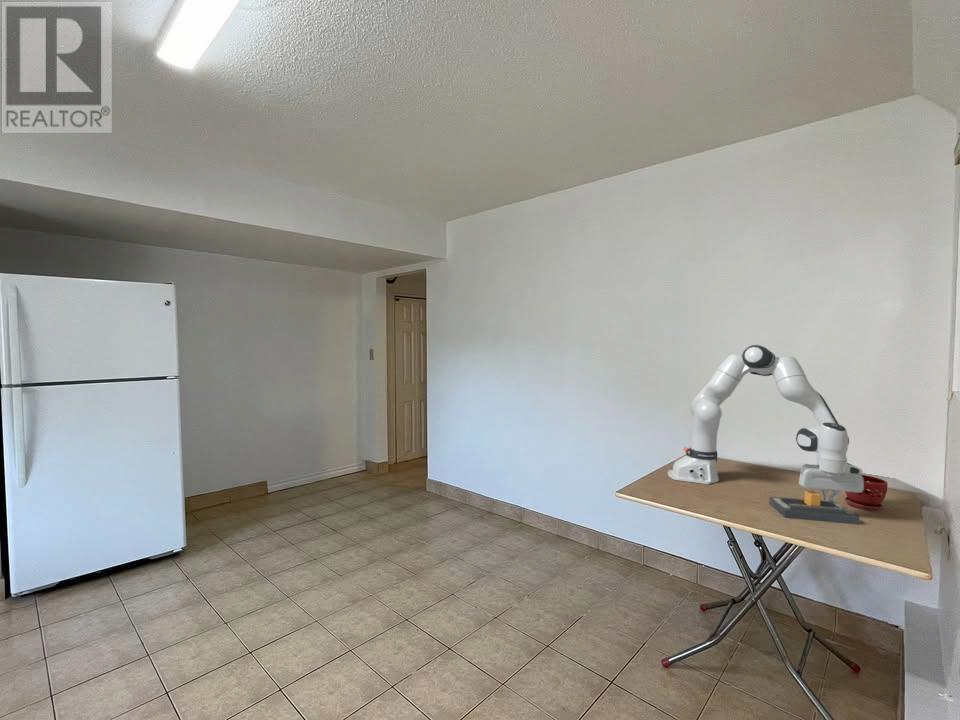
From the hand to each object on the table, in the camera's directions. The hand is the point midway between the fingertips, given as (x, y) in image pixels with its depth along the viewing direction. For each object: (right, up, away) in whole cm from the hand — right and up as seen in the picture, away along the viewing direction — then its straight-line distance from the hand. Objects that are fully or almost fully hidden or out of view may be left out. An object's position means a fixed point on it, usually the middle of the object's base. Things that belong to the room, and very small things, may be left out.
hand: (829, 501), depth 167 cm
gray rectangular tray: (-6, -5, +2) cm, 8 cm away
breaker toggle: (-6, -2, +1) cm, 6 cm away
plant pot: (+22, -6, +10) cm, 24 cm away
